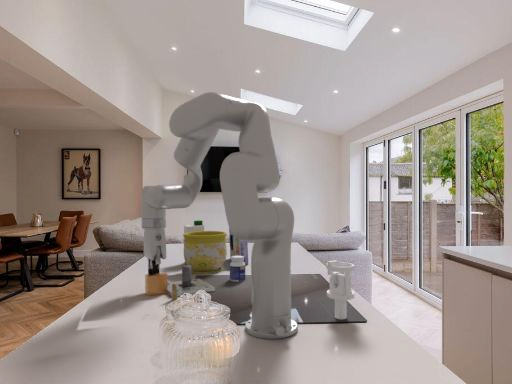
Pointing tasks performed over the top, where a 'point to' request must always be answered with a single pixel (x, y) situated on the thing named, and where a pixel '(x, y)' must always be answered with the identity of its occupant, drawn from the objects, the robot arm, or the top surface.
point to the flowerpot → (205, 251)
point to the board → (183, 280)
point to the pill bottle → (237, 269)
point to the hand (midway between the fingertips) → (153, 280)
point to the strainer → (340, 286)
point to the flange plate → (160, 286)
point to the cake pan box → (238, 247)
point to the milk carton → (194, 227)
